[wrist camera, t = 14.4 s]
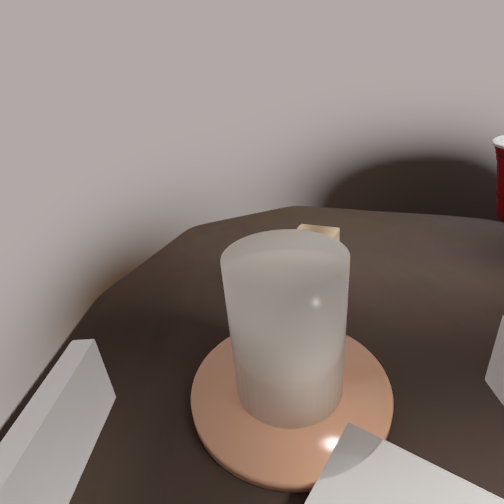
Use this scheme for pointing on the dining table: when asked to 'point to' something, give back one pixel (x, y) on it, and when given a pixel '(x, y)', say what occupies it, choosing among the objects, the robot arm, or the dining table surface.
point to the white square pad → (390, 478)
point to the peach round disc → (287, 440)
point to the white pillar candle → (287, 324)
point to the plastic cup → (500, 175)
